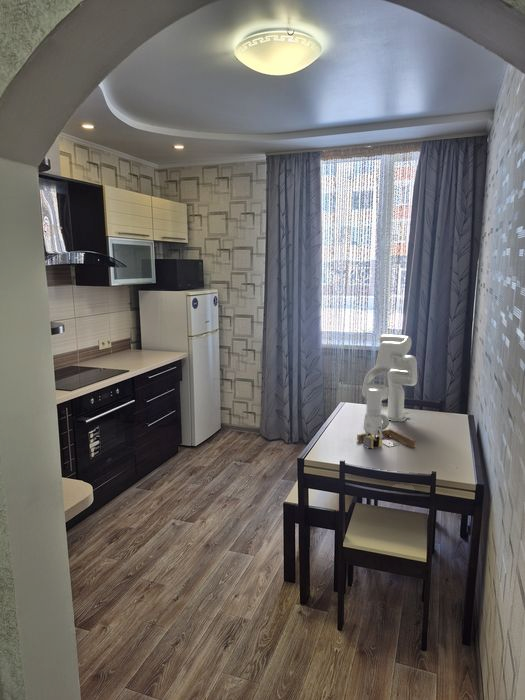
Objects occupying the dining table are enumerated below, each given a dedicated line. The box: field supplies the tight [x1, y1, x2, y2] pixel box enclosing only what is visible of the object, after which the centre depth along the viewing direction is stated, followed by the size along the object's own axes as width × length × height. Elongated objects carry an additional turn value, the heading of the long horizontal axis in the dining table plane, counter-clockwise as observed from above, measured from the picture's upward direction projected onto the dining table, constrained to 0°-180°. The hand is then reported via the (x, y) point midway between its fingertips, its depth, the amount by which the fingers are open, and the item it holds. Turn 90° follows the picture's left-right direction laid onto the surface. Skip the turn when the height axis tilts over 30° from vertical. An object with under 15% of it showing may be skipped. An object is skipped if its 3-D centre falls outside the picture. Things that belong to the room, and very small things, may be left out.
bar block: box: [363, 435, 383, 449], centre depth 242 cm, size 8×5×5 cm, turn 114°
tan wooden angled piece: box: [356, 428, 416, 449], centre depth 245 cm, size 22×20×4 cm
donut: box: [381, 412, 390, 430], centre depth 267 cm, size 10×4×10 cm, turn 63°
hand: (372, 444), depth 243 cm, fingers closed on bar block, 5 cm apart
